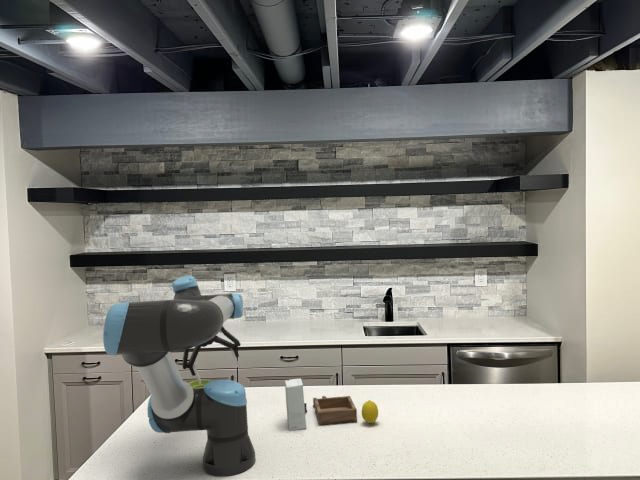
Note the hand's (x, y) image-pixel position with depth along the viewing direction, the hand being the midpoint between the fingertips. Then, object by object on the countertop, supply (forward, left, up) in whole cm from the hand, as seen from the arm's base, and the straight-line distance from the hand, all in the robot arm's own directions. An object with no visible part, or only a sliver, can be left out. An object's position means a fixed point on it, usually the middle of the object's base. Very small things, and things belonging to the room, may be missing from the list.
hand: (219, 373), depth 170 cm
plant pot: (+20, +10, -18) cm, 29 cm away
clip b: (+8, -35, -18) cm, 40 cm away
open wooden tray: (-2, -39, -18) cm, 43 cm away
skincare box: (-6, -25, -18) cm, 32 cm away
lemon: (-11, -50, -18) cm, 54 cm away
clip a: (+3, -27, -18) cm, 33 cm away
